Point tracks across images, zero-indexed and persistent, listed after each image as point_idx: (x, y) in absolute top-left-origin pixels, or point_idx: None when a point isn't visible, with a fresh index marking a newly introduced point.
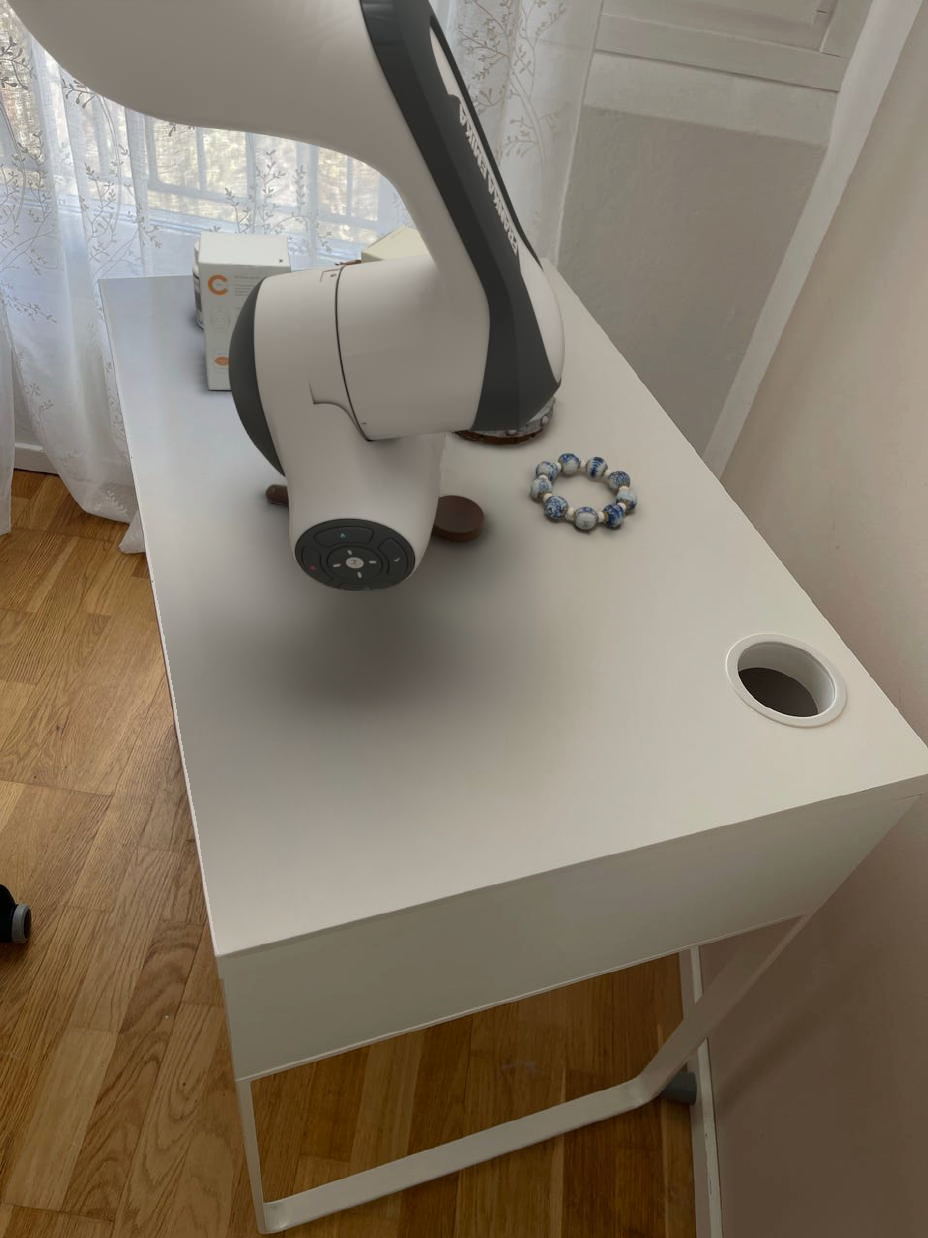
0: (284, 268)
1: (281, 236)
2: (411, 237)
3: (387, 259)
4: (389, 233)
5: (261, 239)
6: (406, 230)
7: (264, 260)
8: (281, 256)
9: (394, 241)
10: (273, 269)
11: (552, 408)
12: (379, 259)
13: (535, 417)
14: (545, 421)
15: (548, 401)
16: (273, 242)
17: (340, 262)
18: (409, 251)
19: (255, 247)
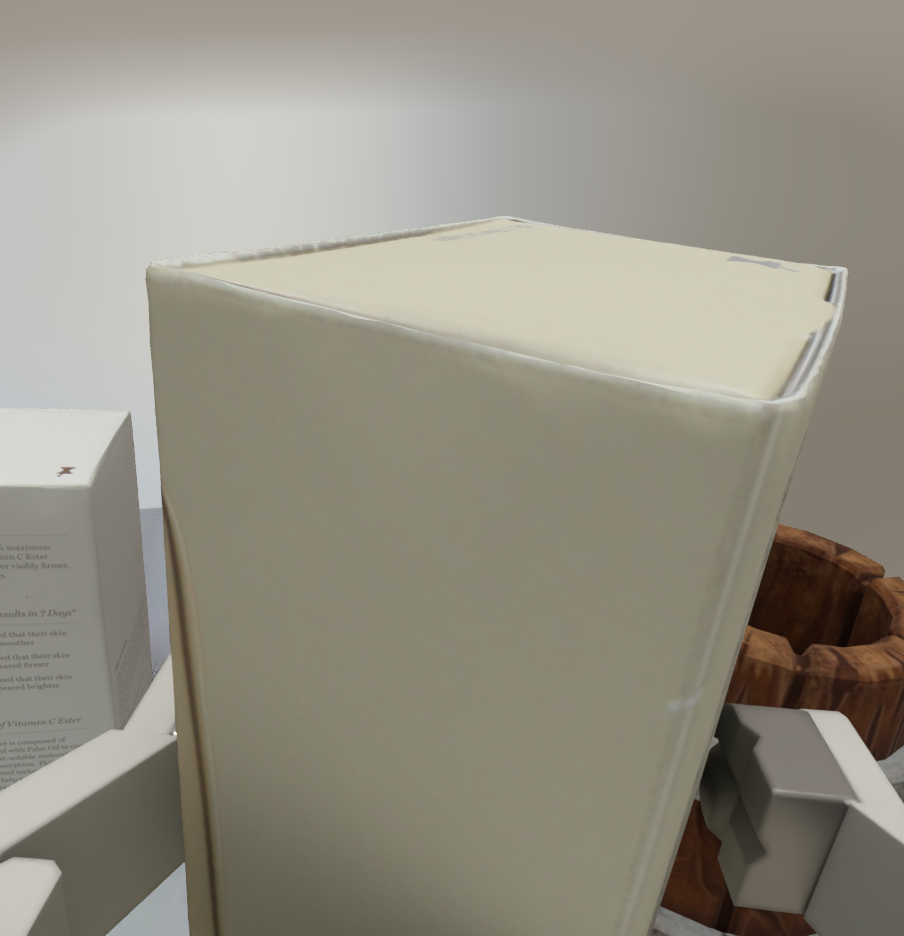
0: (69, 493)
1: (111, 413)
2: (583, 247)
3: (432, 318)
4: (426, 234)
5: (45, 420)
6: (532, 230)
7: (9, 471)
8: (76, 459)
9: (472, 249)
10: (32, 497)
11: None
12: (332, 325)
13: None
14: None
15: None
16: (77, 426)
17: None
18: (628, 289)
19: (9, 438)
